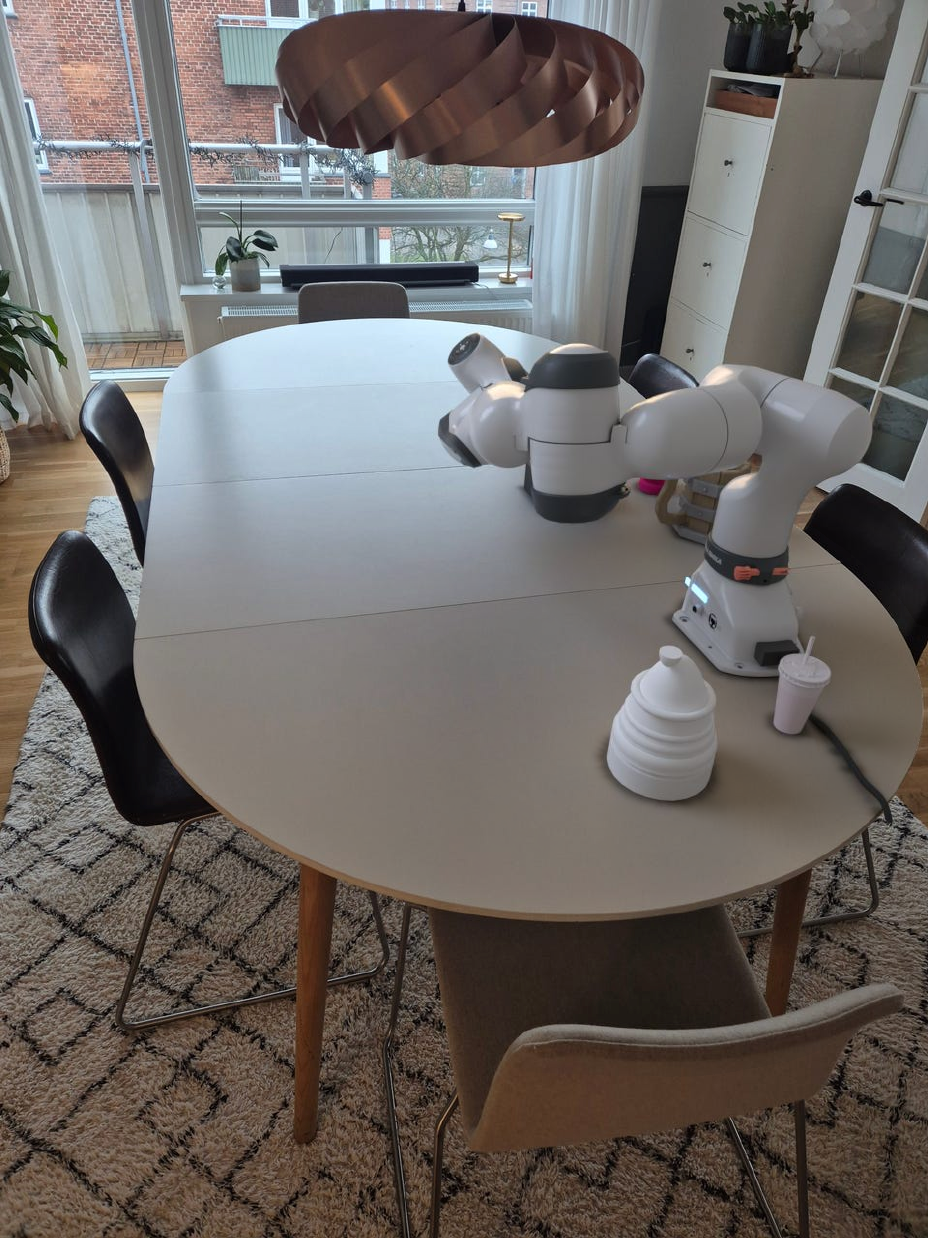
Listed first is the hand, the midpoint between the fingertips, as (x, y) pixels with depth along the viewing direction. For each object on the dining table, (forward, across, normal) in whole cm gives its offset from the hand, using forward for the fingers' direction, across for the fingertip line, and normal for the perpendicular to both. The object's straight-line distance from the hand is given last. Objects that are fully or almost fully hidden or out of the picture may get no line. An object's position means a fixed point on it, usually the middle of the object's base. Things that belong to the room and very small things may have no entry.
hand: (550, 444), depth 166 cm
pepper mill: (+26, +5, +8) cm, 28 cm away
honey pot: (-15, +68, -33) cm, 77 cm away
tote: (+12, 0, -5) cm, 13 cm away
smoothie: (0, +71, -18) cm, 74 cm away
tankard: (+21, +23, +3) cm, 31 cm away
